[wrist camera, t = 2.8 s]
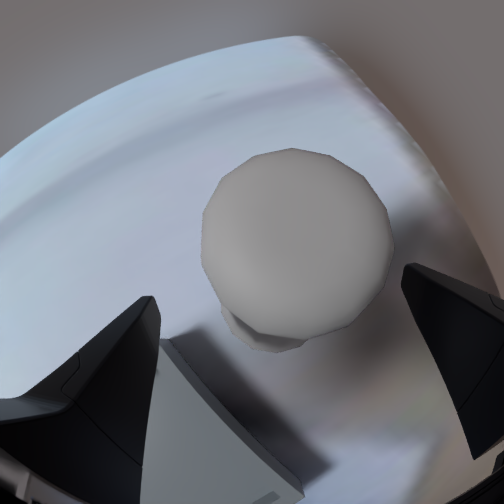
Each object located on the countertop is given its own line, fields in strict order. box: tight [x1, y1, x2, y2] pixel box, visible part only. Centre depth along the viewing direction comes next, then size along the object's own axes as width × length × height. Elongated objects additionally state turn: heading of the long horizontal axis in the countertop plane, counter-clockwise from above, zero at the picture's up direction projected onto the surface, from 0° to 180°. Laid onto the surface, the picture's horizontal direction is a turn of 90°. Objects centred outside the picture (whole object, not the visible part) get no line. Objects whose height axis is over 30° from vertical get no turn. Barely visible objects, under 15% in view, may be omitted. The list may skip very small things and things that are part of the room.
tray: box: [140, 339, 305, 504], centre depth 13 cm, size 13×13×2 cm
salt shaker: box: [201, 148, 395, 353], centre depth 11 cm, size 6×6×13 cm
